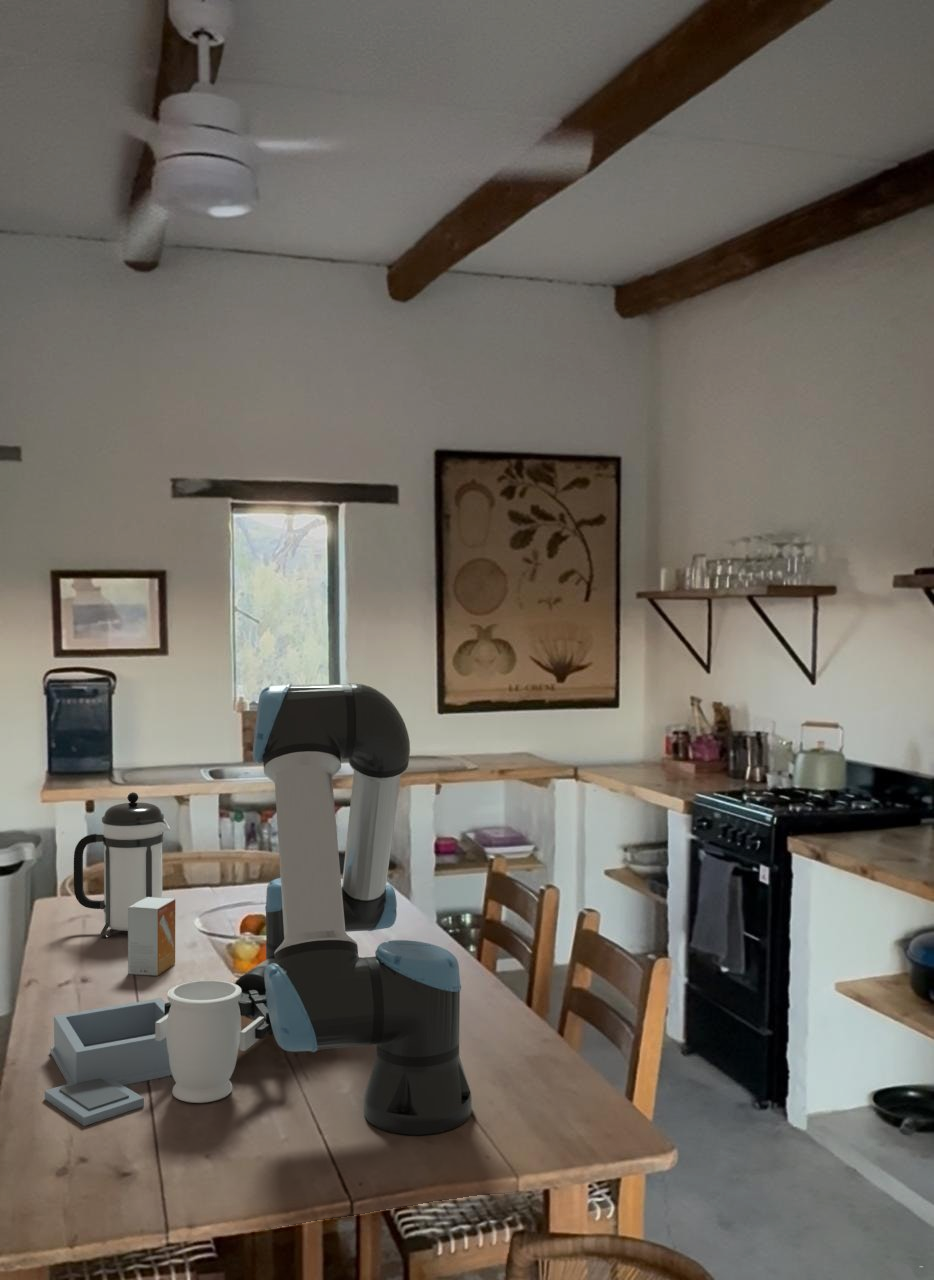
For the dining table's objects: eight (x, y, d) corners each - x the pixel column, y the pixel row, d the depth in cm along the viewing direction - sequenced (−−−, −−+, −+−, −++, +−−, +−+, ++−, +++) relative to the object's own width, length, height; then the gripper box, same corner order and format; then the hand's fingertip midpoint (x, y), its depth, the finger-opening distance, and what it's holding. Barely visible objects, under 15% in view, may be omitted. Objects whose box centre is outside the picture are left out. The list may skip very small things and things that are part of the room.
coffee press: (146, 916, 264) (146, 784, 263) (182, 931, 252) (181, 793, 251) (72, 931, 252) (71, 792, 251) (105, 947, 241) (104, 802, 240)
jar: (169, 1111, 164) (171, 1005, 163) (161, 1082, 174) (163, 982, 173) (245, 1102, 168) (248, 998, 167) (233, 1074, 177) (235, 976, 177)
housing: (196, 1070, 179) (195, 1031, 178) (73, 1095, 170) (73, 1054, 169) (163, 1032, 194) (163, 996, 194) (50, 1052, 185) (50, 1015, 185)
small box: (158, 976, 223) (157, 908, 222) (127, 974, 224) (126, 906, 223) (176, 963, 231) (176, 897, 230) (146, 961, 232) (146, 896, 231)
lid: (143, 1106, 166) (143, 1095, 166) (84, 1126, 160) (84, 1115, 160) (103, 1081, 175) (102, 1071, 174) (44, 1099, 168) (44, 1088, 168)
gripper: (334, 1020, 187) (278, 1071, 167) (194, 1004, 194) (123, 1052, 173) (335, 973, 187) (278, 1019, 167) (194, 960, 194) (123, 1002, 173)
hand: (199, 1036), depth 170 cm, fingers open, 13 cm apart
